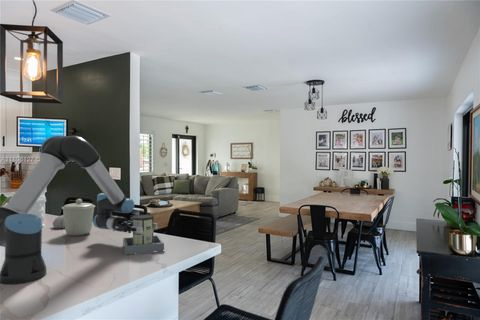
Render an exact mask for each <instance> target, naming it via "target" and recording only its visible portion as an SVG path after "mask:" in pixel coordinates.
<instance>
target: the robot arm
mask: <svg viewBox="0 0 480 320" xmlns="http://www.w3.org/2000/svg"><path fill="white" fill-rule="evenodd" d="M38 155H39V161H38V162H37V164H36V165H35V166H34V168H32V170H31V171H30V173H29V174H28V175H27V177H26V178H25V179H24V181H23V182H22V183H21V184H20V185H19V188H17V190H16V191H15V192H14V194H13V195H12V196H11V198H10V199H9V200H8V202H7V203H6V204H5V205H2V206H0V247H4V260H3V264H2V265H1V268H0V283H1V284H6V285H7V284H8V285H14V284H23V283H28V282H29V283H30V282H32V281H35V280H39V279H41V278H43V277H45V276H46V275H47V266H46V263H45V260H44V257H43V256H42V243H43V242H42V239H43V238H42V236H43V235H42V233H43V232H42V231H43V230H42V229H43V227H42V221H41V218H40V217H39V216H37V215H34V214H29V211H30V210H31V208H32V207H33V205H34V204H35V202H36V201H37V200H38V198H39V197H40V195H41V196H42V194H43V192H44V191H45V189H46V188H47V187H48V185H49V184H50V183H51V181H52V180H53V178H54V177H55V176H56V175H57V172H58V171H59V170H64V169H65V167H66V166H67V165H68V163H69V162H75V163H76V164H78V165H79V166H80V168H81V169H85V170H86V172H87V173H88V174H89V176H90V177H91V179H93V181H94V182H95V183H96V185H97V186H98V188H99V189H100V191H101V193H98V194H97V196H96V197H97V198H96V208H97V210H96V211H97V214H96V215H95V216H93V221H92V225H93V226H94V227H95V228H97V229H102V230H108V231H112V232H123V233H128V234H131V233H133V232H137V233H143V227H136V226H133V220H128V218H126V217H124V216H118V215H113V213H114V212H115V213H121V214H129V213H131V212H133V211H134V209H135V202H134V200H133V199H131V198H127V197H126V196H125V194H124V193H123V191H122V189H121V188H120V187H119V186H118V184H117V183H116V180H114V178H113V177H112V175H111V174H110V172H109V171H108V170H107V168H106V167H105V165H104V163H103V162H102V161H101V155H100V154H99V152H98V151H97V150H96V149H95V148H94V146H93V145H91V144H90V142H89V141H87V140H86V139H84V138H83V137H81V136H77V135H68V136H67V135H61V136H60V135H54V136H50V137H48V138H46V139H44V141H43V142H42V144H41V146H40V153H39V154H38ZM157 229H158V223H155V222H153V230H157Z"/></svg>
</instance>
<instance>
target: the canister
mask: <svg viewBox="0 0 480 320" xmlns="http://www.w3.org/2000/svg"><path fill="white" fill-rule="evenodd" d="M95 208H96V205H94V203H89V202H83V199H82V198H77V199H76V200H75V203H74V202H73V203H69V204H64V205H63V206H61V209H62V210H63V211H62V213H63V214H62V215H64V223H65V228H64V230H65V233H66V235H67V236H68V235H69V236H71V237H72V236H73V237H74V236H77V237H78V236H85V235H87V234H89V233H90V232H91V230H92V227H93V220H94V214H95V213H94V211H95Z"/></svg>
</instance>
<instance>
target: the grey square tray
mask: <svg viewBox="0 0 480 320" xmlns="http://www.w3.org/2000/svg"><path fill="white" fill-rule="evenodd" d="M156 242H157V243H156ZM128 245H129V246H128ZM122 247H123V250H124V255H125V256H128V255H127V254H132V255H136V254H135V253H141V254H146V253H145V252H151V253H155V252H154V251H161V252H164V251H165V242H164V241H163V240H162V238H161V237H160V235H159V234H155V235H154V234H153V244H143V245H133V236H131V237H123V238H122ZM163 250H164V251H163Z"/></svg>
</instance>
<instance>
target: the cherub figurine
mask: <svg viewBox="0 0 480 320" xmlns="http://www.w3.org/2000/svg"><path fill="white" fill-rule="evenodd" d="M45 203H47V198H46V196H45V195H42V194H41V195H40V197H39V198H38V200H37V201H36V202H35V204H34V205H33V207H32V208H31V210H30V211H29V212H28V214H34V215H37V216H39V217H40V218H41V221H42V228H44V227H45V224H44V223H45V222H44V220H45V215H44V213H45V209H44V205H45Z"/></svg>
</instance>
